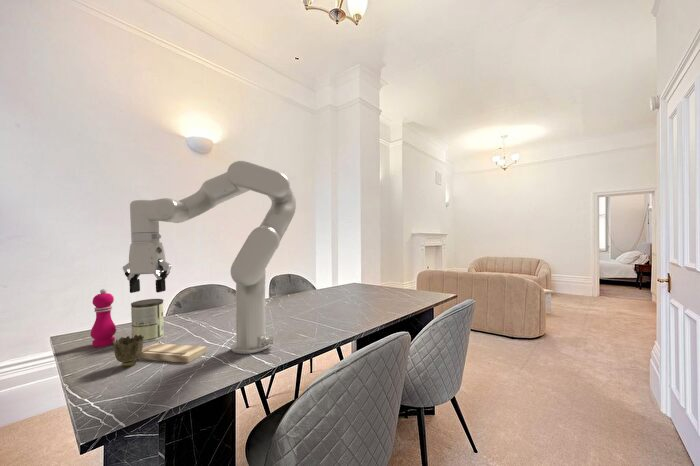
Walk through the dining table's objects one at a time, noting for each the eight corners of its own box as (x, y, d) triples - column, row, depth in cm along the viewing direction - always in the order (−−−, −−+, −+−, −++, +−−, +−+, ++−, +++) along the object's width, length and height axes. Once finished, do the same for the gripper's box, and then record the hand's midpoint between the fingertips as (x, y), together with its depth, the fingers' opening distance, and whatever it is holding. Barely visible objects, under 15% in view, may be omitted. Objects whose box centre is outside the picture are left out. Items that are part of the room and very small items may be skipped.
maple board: (206, 352, 98) (206, 346, 98) (188, 362, 90) (188, 355, 90) (156, 349, 103) (156, 342, 103) (134, 358, 95) (134, 351, 95)
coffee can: (129, 338, 114) (128, 301, 115) (160, 332, 122) (159, 297, 122) (134, 345, 107) (133, 305, 107) (167, 338, 114) (166, 300, 115)
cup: (109, 373, 85) (108, 344, 85) (117, 363, 91) (117, 336, 92) (140, 368, 87) (140, 340, 88) (146, 358, 94) (146, 333, 94)
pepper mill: (85, 346, 107) (85, 290, 107) (108, 339, 114) (108, 286, 114) (98, 348, 104) (97, 291, 105) (120, 341, 111) (120, 287, 111)
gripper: (177, 237, 99) (180, 289, 99) (133, 239, 102) (135, 290, 102) (159, 237, 91) (161, 293, 91) (112, 240, 95) (114, 294, 94)
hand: (147, 291), depth 97 cm, fingers open, 9 cm apart
